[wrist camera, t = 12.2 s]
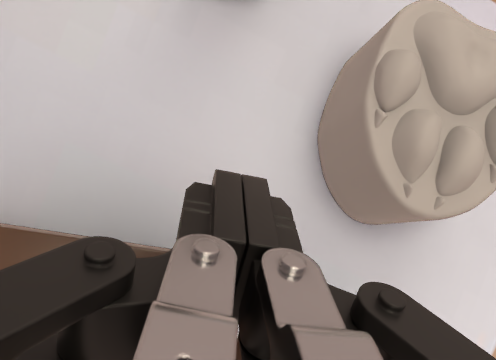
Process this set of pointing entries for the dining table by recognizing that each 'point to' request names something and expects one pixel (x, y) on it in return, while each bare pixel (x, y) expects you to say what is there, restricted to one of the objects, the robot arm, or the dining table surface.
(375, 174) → the lumpy-topped squat cylinder
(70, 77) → the dining table surface
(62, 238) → the cabinet
